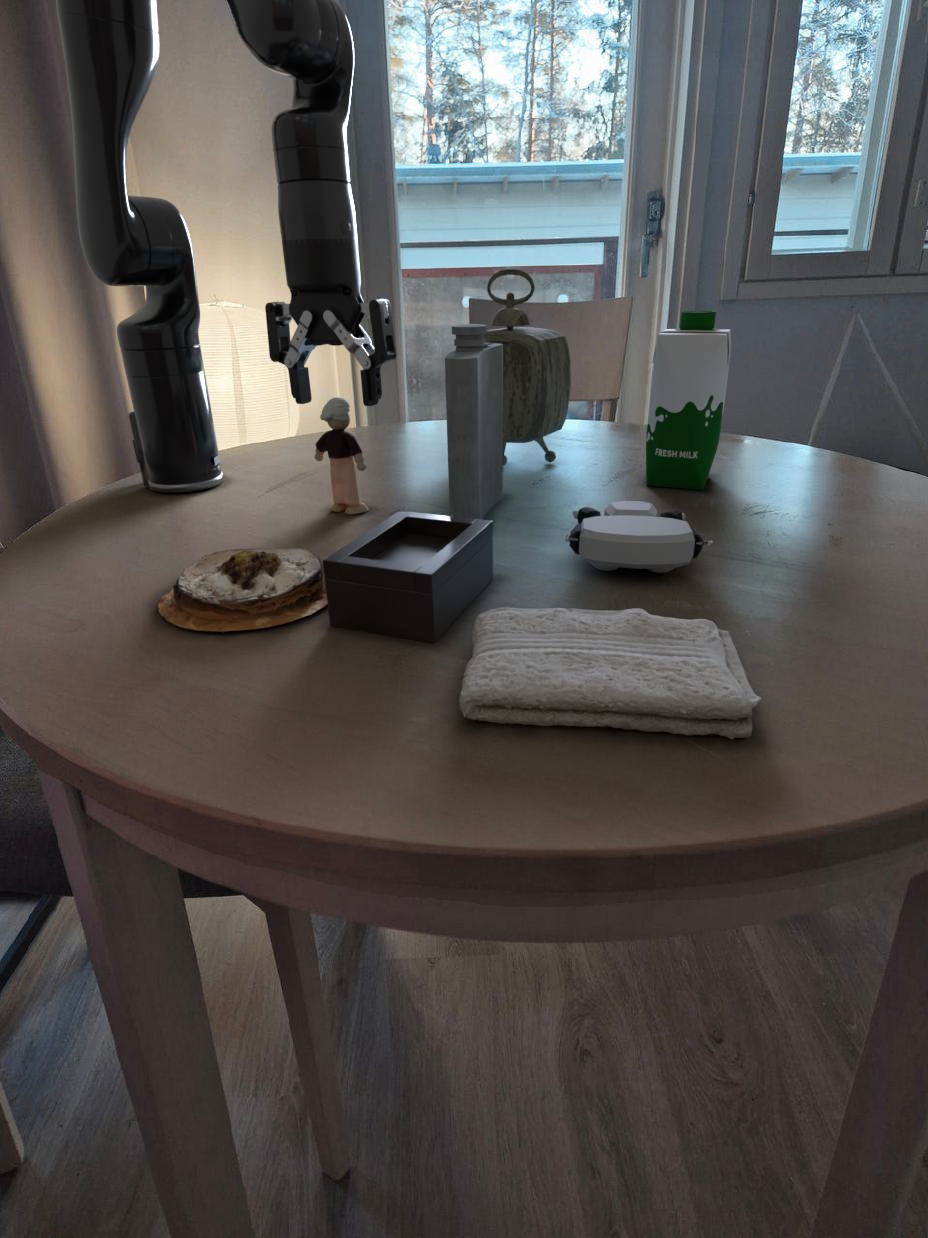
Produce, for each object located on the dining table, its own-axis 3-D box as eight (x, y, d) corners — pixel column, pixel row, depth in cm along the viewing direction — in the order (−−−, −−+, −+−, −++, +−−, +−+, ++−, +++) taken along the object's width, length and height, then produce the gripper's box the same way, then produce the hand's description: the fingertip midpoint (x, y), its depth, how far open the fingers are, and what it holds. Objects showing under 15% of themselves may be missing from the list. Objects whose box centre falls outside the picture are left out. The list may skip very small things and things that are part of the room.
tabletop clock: (567, 461, 103) (575, 267, 92) (538, 476, 96) (543, 268, 85) (481, 451, 110) (479, 269, 99) (448, 463, 103) (442, 270, 92)
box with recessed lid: (329, 625, 56) (322, 560, 54) (402, 567, 67) (399, 510, 65) (434, 643, 53) (431, 574, 51) (493, 579, 64) (493, 520, 61)
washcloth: (765, 745, 41) (774, 699, 40) (454, 730, 43) (453, 686, 42) (721, 647, 52) (727, 608, 50) (474, 639, 54) (473, 601, 52)
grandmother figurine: (382, 507, 84) (374, 396, 78) (365, 517, 81) (355, 401, 75) (328, 501, 87) (316, 393, 81) (309, 510, 84) (296, 398, 78)
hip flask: (476, 537, 74) (473, 329, 65) (438, 535, 75) (430, 329, 66) (504, 495, 88) (505, 318, 79) (472, 493, 89) (469, 319, 80)
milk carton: (716, 475, 94) (738, 310, 86) (710, 493, 87) (734, 314, 78) (648, 470, 97) (663, 310, 89) (637, 487, 90) (652, 314, 81)
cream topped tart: (210, 560, 69) (203, 519, 68) (359, 566, 67) (356, 524, 65) (123, 628, 56) (111, 579, 54) (305, 638, 54) (299, 587, 52)
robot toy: (567, 537, 76) (563, 582, 62) (569, 495, 74) (565, 531, 61) (686, 541, 74) (709, 588, 60) (691, 497, 72) (715, 536, 59)
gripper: (400, 234, 72) (410, 400, 79) (281, 241, 77) (301, 397, 84) (363, 231, 66) (378, 412, 73) (237, 239, 71) (262, 407, 78)
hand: (336, 403), depth 79 cm, fingers open, 8 cm apart
